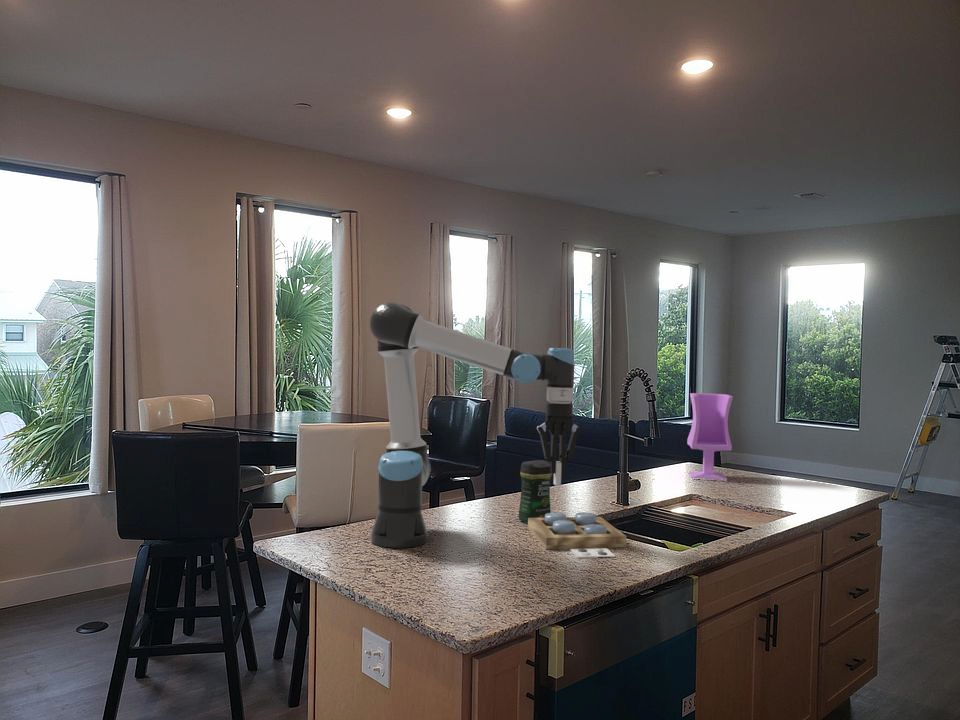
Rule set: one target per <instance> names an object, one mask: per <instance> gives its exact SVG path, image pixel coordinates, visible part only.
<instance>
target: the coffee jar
mask: <svg viewBox="0 0 960 720" xmlns="http://www.w3.org/2000/svg"><path fill="white" fill-rule="evenodd" d="M550 470H551V462H550V461H549V460H542V459H539V460H538V459H537V460H528V461H523V462H522V463H521V465H520V478H521V490H520V491H521V492H520V499H519V501H520V502H519V508H518V520H520V521H521V522H522V523H524V524H528V518H545V514H547V513H552V512H551V495H550V494H551V491H550V490H551V489H550V486H551V485H550V484H551V478H552V476H553V473H551V471H550Z"/></svg>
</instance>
